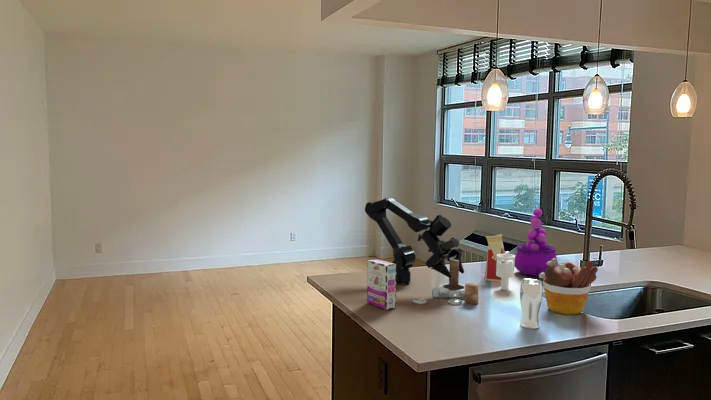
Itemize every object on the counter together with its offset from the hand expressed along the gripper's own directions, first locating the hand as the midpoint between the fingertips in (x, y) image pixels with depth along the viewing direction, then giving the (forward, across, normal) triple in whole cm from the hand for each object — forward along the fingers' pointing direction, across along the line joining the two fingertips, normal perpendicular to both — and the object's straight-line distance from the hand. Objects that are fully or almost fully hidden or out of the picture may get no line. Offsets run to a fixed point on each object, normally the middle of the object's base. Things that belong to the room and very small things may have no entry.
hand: (457, 275), depth 217 cm
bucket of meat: (+34, +10, -22) cm, 41 cm away
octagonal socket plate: (+5, 0, +7) cm, 8 cm away
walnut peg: (+4, 0, +6) cm, 8 cm away
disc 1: (+2, -17, +10) cm, 20 cm away
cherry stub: (+12, -5, -1) cm, 13 cm away
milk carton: (+5, +33, +7) cm, 34 cm away
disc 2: (+9, -9, +2) cm, 13 cm away
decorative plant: (+12, +52, 0) cm, 53 cm away
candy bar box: (-3, -30, +15) cm, 34 cm away
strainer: (+12, +21, -1) cm, 25 cm away
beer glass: (+32, -14, -20) cm, 40 cm away
